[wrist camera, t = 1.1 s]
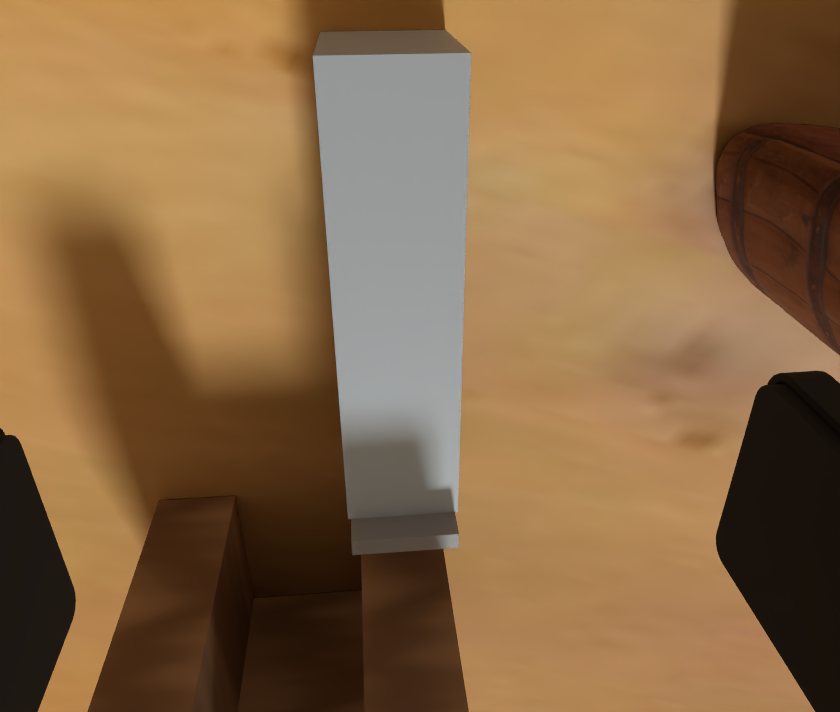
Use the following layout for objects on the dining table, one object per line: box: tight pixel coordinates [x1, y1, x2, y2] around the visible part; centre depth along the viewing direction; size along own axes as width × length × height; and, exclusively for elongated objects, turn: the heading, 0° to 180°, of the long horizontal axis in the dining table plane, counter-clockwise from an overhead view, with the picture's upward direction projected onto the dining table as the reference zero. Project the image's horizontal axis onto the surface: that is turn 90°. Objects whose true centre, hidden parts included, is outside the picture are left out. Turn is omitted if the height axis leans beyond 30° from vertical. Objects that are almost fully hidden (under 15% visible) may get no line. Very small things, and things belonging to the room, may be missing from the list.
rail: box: [313, 30, 471, 555], centre depth 21 cm, size 4×15×6 cm, turn 0°
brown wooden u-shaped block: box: [88, 496, 469, 712], centre depth 26 cm, size 11×8×11 cm
